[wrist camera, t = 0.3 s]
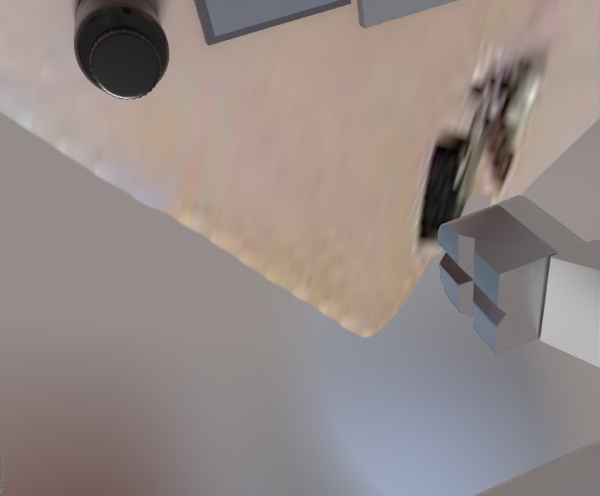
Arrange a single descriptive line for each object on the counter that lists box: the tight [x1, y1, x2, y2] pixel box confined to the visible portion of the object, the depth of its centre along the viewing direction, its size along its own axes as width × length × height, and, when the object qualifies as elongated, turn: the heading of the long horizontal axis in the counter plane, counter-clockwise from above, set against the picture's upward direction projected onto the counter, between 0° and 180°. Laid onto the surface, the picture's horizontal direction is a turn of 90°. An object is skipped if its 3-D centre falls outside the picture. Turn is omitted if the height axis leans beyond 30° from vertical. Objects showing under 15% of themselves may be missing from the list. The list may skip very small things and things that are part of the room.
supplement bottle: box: [74, 0, 169, 100], centre depth 44 cm, size 7×7×12 cm
